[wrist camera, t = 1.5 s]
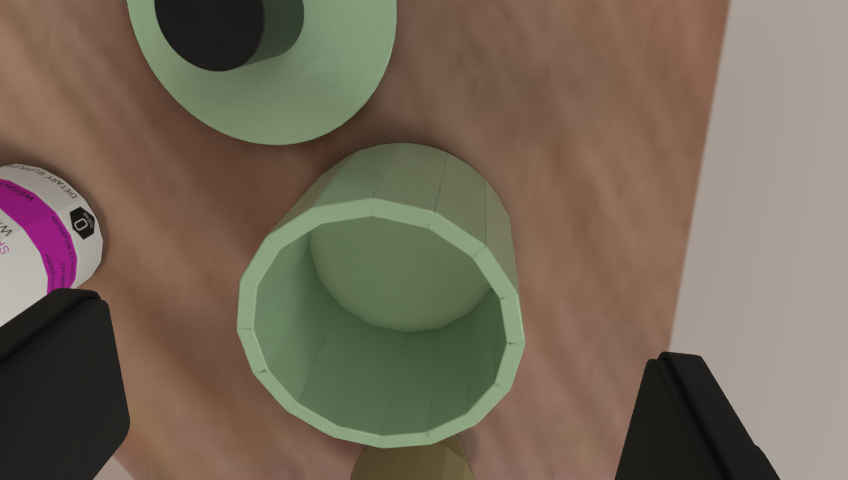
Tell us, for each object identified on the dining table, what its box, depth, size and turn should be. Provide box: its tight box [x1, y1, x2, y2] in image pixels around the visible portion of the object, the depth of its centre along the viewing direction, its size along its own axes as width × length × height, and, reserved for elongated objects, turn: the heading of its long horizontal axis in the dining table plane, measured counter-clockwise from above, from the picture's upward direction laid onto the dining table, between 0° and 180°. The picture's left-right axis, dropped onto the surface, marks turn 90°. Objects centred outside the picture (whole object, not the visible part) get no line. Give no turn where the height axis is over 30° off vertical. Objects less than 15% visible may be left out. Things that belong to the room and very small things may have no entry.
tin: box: [236, 143, 525, 448], centre depth 29 cm, size 13×13×10 cm
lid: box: [127, 0, 397, 145], centre depth 26 cm, size 14×14×7 cm
